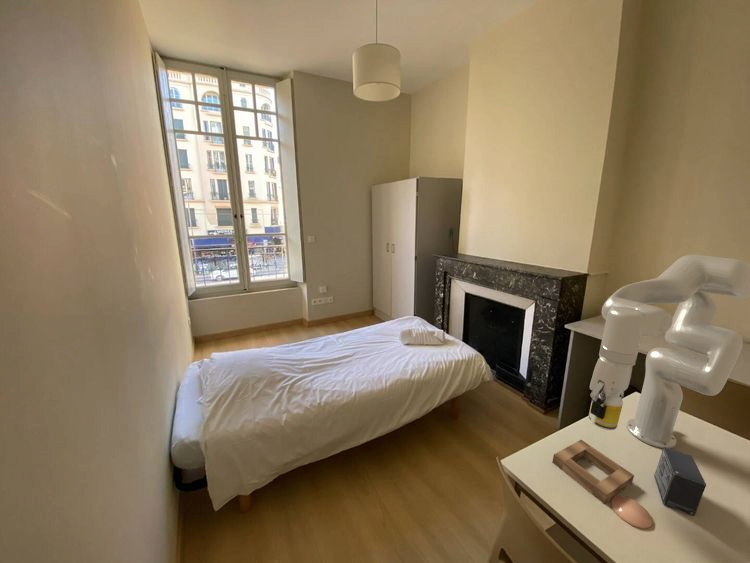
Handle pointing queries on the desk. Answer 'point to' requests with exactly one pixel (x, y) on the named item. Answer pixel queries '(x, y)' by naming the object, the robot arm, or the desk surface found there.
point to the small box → (679, 481)
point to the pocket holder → (599, 489)
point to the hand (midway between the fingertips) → (604, 411)
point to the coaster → (631, 512)
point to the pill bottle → (609, 413)
